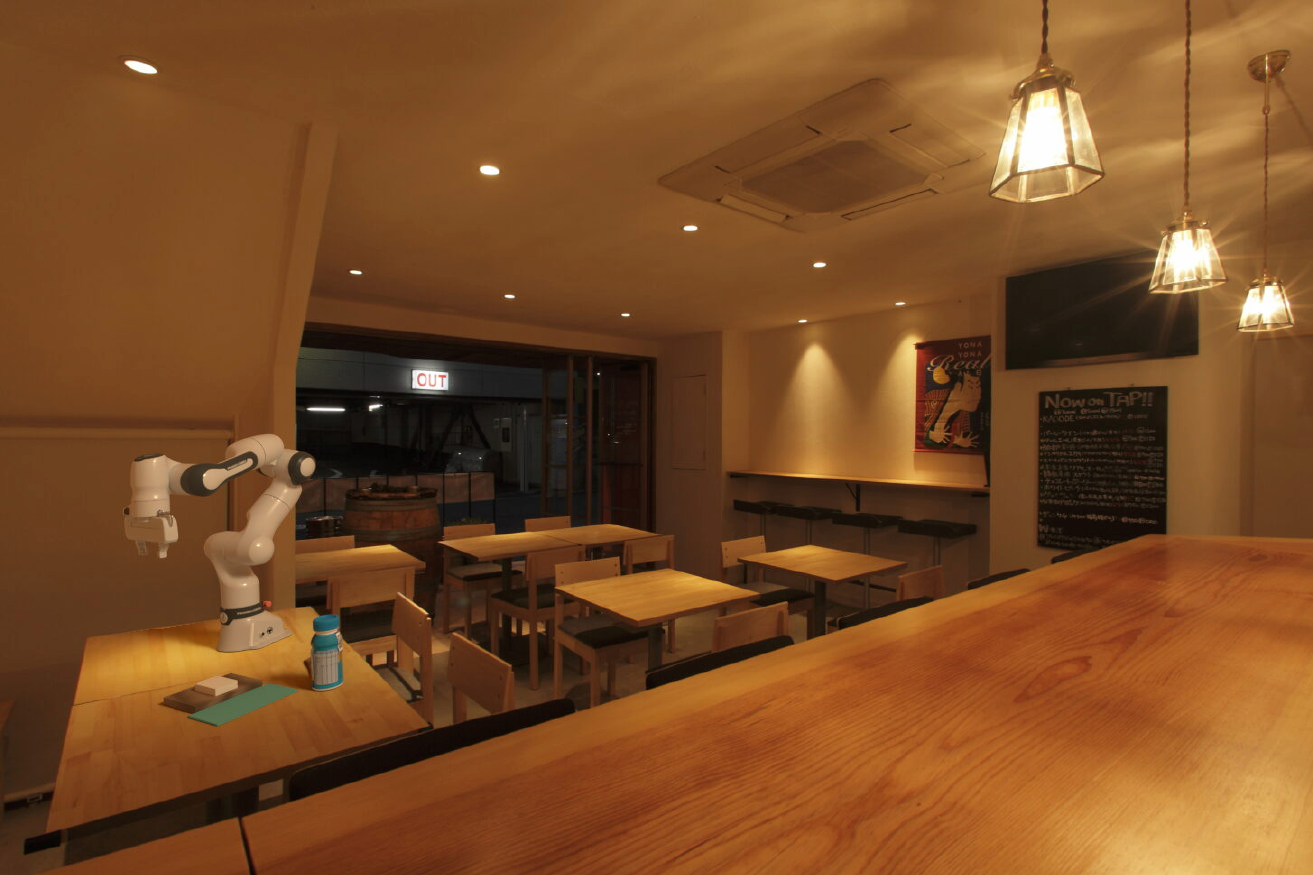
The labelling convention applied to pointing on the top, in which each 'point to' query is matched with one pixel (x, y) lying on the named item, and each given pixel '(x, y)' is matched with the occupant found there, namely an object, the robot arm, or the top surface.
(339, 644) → the beverage bottle
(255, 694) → the mat
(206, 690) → the tile
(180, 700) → the brown wooden board
